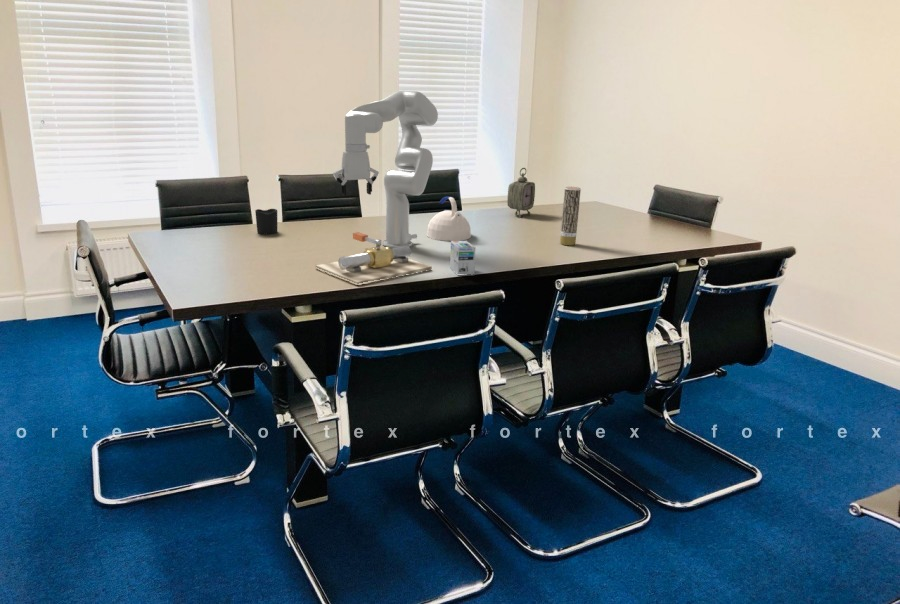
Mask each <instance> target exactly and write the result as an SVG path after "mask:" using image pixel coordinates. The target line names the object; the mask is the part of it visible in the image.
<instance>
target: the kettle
mask: <svg viewBox="0 0 900 604" xmlns="http://www.w3.org/2000/svg"><path fill="white" fill-rule="evenodd" d="M455 199H456V198H454V197H453V196H450V195H449V196H444V197H442V198H441V199H440V201H439V202H438V203H439V204H444V203H445V201H447V200H449V201H450V205H451V210H450V209H444V210H443V211H440V212H437V213H436V214H435V215H434V216H433V217H432V218H430V220H429V223H428V224H427V231H426V237H428V238H429V239H432V240H435V241H436V240H437V241H444V242H451V241H468V240H469V239H471V237H472V233H471V226H470V223H469V221H468V219H467V218H466V217H465V216H464V215H463V214H462V213H461V212H459V211H458V208H457V207H458V206H457V202H456V200H455Z"/></svg>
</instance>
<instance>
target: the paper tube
mask: <svg viewBox="0 0 900 604" xmlns="http://www.w3.org/2000/svg"><path fill="white" fill-rule="evenodd" d="M581 191H582V189H581V187H578V186H565V187H564V192H563V193H564V195H563V203H562V204H563V206H562V215H561V217H562V218H561V226H560V228H561V229H560V240H559V244H561V245H562V246H567V245H569V247H570V246H575V245H576V244H577V243H576V242H577V230H578V221H579V212H580V211H579V209H580V201H581Z"/></svg>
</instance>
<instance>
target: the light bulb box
mask: <svg viewBox="0 0 900 604" xmlns="http://www.w3.org/2000/svg"><path fill="white" fill-rule="evenodd" d="M475 265H476V246H474V245H473V244H471V243H470V241H468V240H462V241H450V263H449V269H450V270H451V271H452V272H454V271H455V272H456V273H457V274H471V275H470V276H474V275H475V269H476V268H475V267H476V266H475ZM455 272H454V273H455ZM456 273H455V274H456ZM457 274H456V275H457ZM473 274H474V275H473Z"/></svg>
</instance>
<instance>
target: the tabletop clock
mask: <svg viewBox="0 0 900 604" xmlns="http://www.w3.org/2000/svg"><path fill="white" fill-rule="evenodd" d="M522 170H525V172H523V173H521V172H522ZM526 174H527V168H526V167H522V168H521V169H520V171H519V177H518V178H517V180H516V181H514V182H513V181H512V182H511V183H509V185H508V189H507V202H506V203H507V207H508V208H509V209H512V210H516V211H514V215H515V216H517V217H518V218H521V217H522V214H521V211H526V212H527V213H526V214H527V215H530V214H531V211H529V210H531V209H532V208H533V207H534V205H535V204H534V203H535V197H536V183H535V182H533V181H532V182H531V181H528V178H527V177H526Z"/></svg>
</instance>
